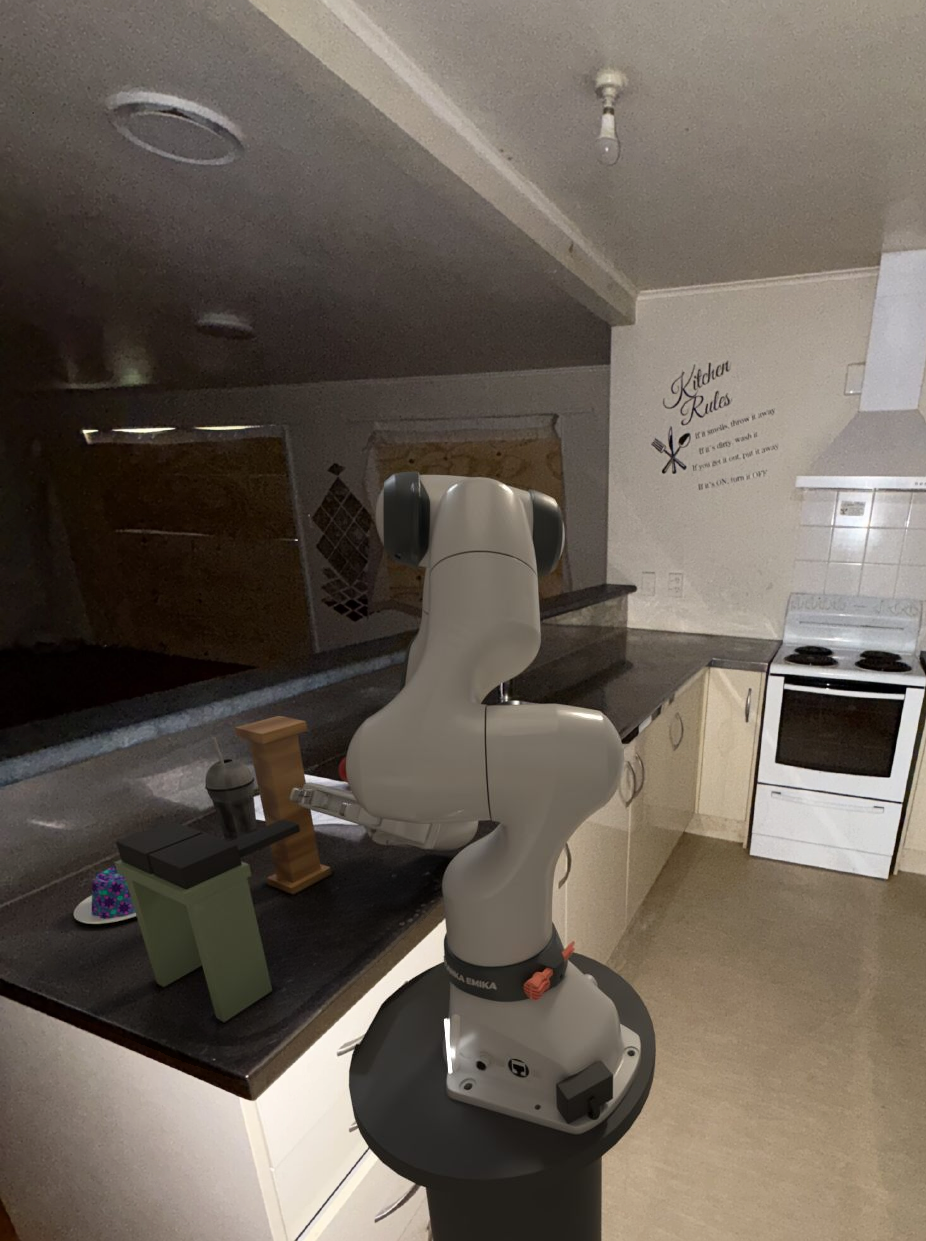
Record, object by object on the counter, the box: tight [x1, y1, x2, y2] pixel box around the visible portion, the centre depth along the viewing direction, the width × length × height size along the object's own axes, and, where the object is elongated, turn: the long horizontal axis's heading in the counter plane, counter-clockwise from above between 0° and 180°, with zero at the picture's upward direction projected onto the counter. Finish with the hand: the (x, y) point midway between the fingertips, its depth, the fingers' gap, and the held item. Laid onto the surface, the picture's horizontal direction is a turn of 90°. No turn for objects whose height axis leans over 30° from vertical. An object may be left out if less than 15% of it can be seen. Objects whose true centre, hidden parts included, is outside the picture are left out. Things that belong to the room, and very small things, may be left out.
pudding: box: [72, 866, 137, 925], centre depth 92 cm, size 12×12×5 cm
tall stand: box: [234, 715, 333, 895], centre depth 95 cm, size 6×7×26 cm
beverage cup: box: [204, 736, 258, 842], centre depth 107 cm, size 7×7×20 cm
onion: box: [338, 756, 349, 784], centre depth 134 cm, size 6×6×8 cm
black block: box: [115, 820, 203, 874], centre depth 71 cm, size 6×6×2 cm
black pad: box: [149, 819, 300, 890], centre depth 72 cm, size 6×14×2 cm, turn 151°
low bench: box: [114, 859, 273, 1023], centre depth 73 cm, size 14×7×17 cm, turn 61°
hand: (318, 801), depth 81 cm, fingers open, 8 cm apart
